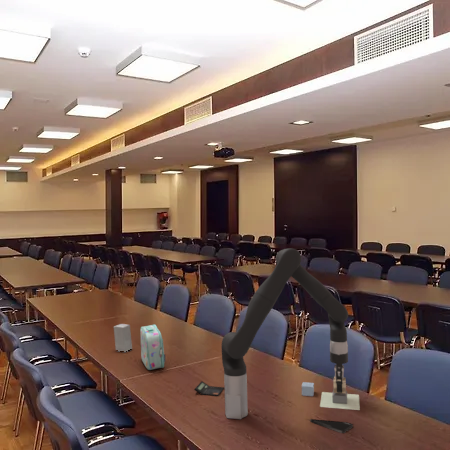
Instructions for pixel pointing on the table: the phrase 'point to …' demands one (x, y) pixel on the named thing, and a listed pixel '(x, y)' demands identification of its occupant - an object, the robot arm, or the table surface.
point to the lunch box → (152, 347)
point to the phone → (333, 425)
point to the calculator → (208, 389)
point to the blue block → (307, 389)
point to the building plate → (351, 403)
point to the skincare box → (122, 337)
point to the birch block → (342, 385)
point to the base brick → (339, 397)
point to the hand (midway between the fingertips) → (339, 389)
